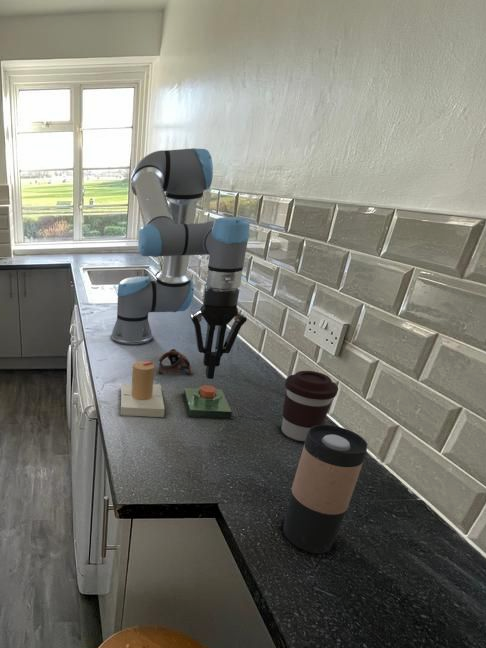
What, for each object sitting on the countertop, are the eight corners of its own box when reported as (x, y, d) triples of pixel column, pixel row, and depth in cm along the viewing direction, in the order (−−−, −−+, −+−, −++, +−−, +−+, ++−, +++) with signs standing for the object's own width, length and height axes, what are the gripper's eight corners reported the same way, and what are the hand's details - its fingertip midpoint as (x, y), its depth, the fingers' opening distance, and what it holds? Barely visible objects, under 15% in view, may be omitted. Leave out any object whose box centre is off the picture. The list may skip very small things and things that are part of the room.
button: (198, 390, 108) (199, 384, 108) (213, 391, 108) (214, 385, 107) (200, 397, 105) (201, 391, 104) (216, 398, 104) (217, 392, 103)
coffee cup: (317, 425, 97) (333, 369, 91) (328, 449, 89) (346, 389, 83) (271, 419, 100) (284, 365, 94) (278, 442, 92) (292, 384, 86)
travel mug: (271, 521, 71) (296, 426, 63) (312, 517, 72) (342, 422, 63) (299, 557, 64) (331, 456, 56) (345, 552, 65) (383, 451, 56)
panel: (121, 390, 118) (121, 382, 117) (159, 392, 116) (160, 383, 115) (120, 415, 106) (121, 406, 104) (163, 417, 104) (164, 408, 102)
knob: (138, 401, 106) (140, 370, 103) (127, 392, 111) (128, 362, 107) (156, 397, 108) (158, 366, 104) (144, 388, 113) (146, 358, 109)
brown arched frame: (196, 380, 123) (187, 361, 118) (166, 390, 126) (157, 373, 122) (188, 356, 132) (179, 338, 127) (160, 366, 135) (151, 349, 131)
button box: (183, 394, 114) (184, 382, 112) (220, 396, 112) (222, 383, 111) (189, 416, 103) (191, 403, 102) (230, 419, 102) (233, 405, 100)
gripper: (195, 291, 92) (185, 382, 102) (256, 291, 90) (239, 384, 100) (191, 283, 99) (181, 369, 109) (247, 283, 96) (232, 371, 107)
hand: (209, 376), depth 104 cm, fingers closed
